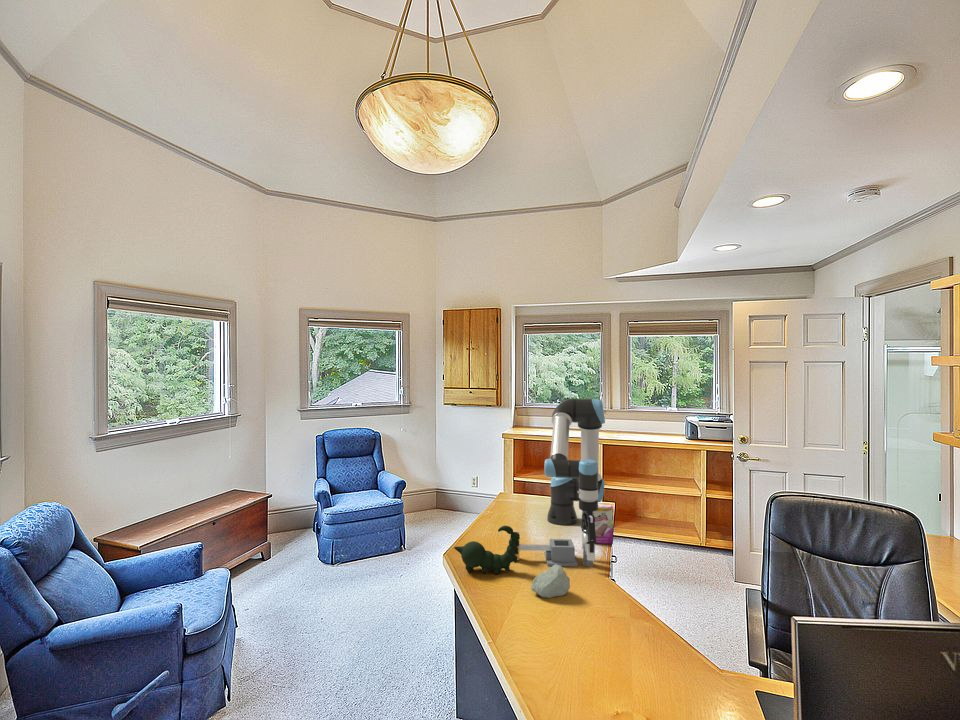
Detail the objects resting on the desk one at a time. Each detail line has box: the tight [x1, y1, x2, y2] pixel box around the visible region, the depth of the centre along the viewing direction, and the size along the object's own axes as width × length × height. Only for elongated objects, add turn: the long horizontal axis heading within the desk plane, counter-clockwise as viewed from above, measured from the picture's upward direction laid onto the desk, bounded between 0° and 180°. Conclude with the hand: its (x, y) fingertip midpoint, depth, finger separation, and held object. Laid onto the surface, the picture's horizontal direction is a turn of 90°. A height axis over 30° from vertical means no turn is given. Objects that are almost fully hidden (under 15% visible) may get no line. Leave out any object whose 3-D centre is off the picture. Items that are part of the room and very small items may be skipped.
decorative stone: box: [530, 564, 571, 599], centre depth 170 cm, size 13×11×10 cm
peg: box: [582, 528, 594, 568], centre depth 195 cm, size 4×4×14 cm
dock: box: [543, 538, 579, 568], centre depth 199 cm, size 12×12×7 cm
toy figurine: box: [453, 525, 521, 575], centre depth 188 cm, size 9×19×25 cm
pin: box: [516, 531, 551, 561], centre depth 199 cm, size 3×16×10 cm, turn 88°
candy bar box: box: [593, 504, 615, 545], centre depth 219 cm, size 11×5×16 cm, turn 84°
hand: (588, 554), depth 195 cm, fingers open, 11 cm apart
